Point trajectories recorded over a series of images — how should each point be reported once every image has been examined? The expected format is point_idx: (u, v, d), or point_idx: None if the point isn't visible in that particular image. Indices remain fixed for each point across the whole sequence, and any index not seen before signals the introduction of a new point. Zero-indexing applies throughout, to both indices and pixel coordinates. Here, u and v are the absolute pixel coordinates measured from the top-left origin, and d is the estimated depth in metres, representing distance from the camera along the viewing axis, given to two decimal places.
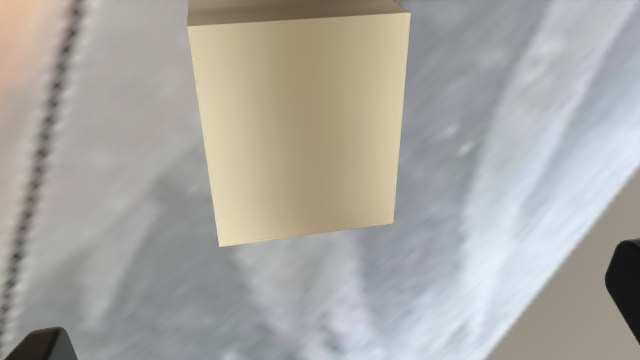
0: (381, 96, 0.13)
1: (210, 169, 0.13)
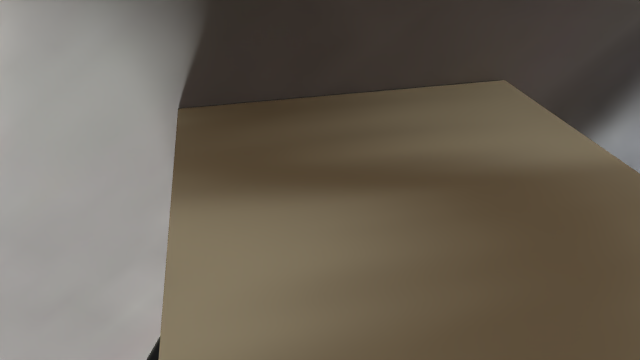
0: None
1: None
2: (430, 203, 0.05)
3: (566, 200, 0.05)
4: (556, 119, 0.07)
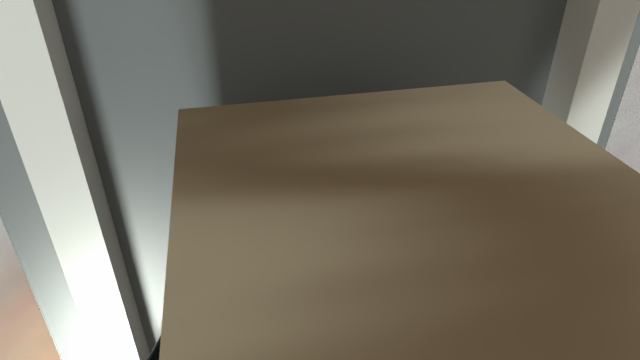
0: None
1: None
2: (430, 204, 0.05)
3: (567, 201, 0.05)
4: (556, 119, 0.07)
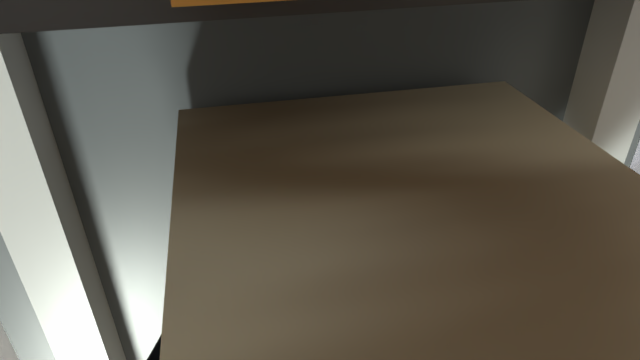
0: None
1: None
2: (429, 205, 0.05)
3: (566, 201, 0.05)
4: (556, 120, 0.07)
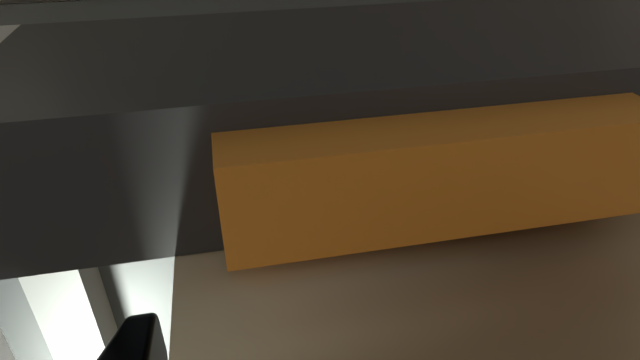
0: None
1: None
2: None
3: None
4: None
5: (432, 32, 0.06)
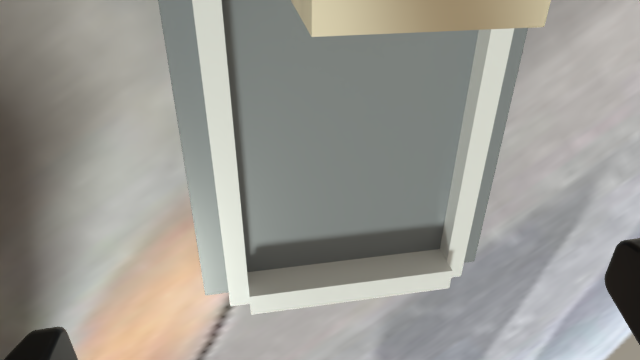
0: None
1: None
2: None
3: None
4: None
5: None
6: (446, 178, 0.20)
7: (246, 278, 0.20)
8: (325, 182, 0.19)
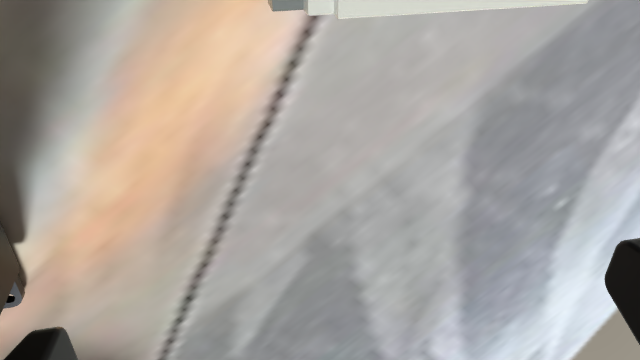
0: None
1: None
2: None
3: None
4: None
5: None
6: None
7: None
8: None
